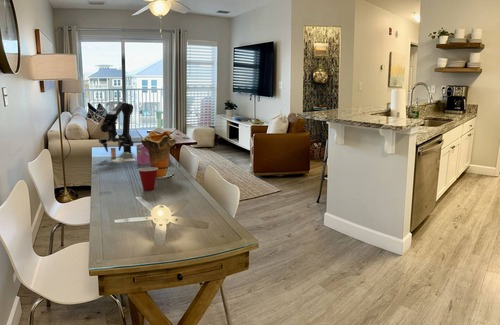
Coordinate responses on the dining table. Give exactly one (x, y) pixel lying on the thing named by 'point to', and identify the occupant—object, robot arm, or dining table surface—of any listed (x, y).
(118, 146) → the robot arm
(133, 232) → the dining table surface
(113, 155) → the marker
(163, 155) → the decorative vase
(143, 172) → the plastic cup
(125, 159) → the square board tray
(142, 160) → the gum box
